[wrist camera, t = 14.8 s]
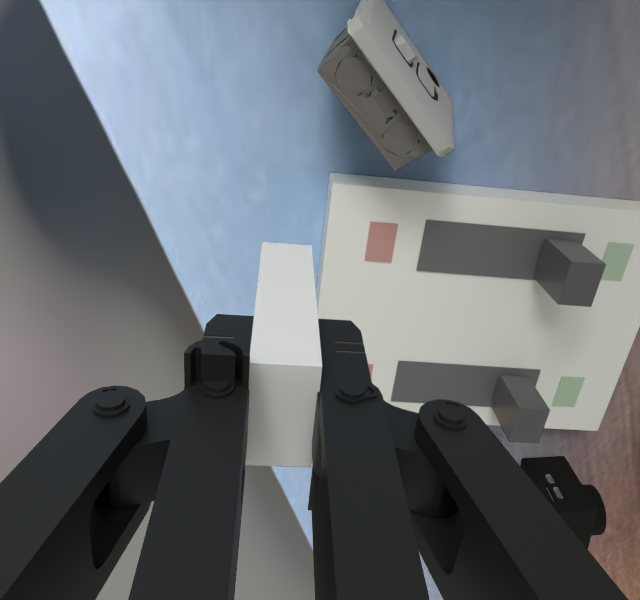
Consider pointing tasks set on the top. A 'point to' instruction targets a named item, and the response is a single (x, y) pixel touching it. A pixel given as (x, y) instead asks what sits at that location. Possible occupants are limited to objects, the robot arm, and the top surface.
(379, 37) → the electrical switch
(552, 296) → the block
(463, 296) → the breaker panel
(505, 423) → the block
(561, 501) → the digital camera
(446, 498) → the robot arm
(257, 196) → the top surface
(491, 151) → the top surface
